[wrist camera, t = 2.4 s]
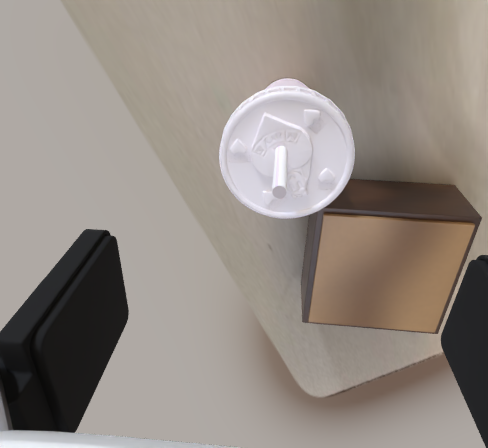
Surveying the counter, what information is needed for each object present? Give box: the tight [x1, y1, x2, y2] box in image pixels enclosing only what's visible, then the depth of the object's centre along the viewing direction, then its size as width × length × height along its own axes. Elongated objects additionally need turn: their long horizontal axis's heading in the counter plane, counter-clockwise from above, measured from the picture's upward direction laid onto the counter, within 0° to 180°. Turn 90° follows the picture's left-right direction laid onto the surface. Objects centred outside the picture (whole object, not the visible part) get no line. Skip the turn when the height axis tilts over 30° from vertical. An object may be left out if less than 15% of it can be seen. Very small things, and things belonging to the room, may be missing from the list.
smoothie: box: [219, 78, 355, 218], centre depth 21 cm, size 6×6×14 cm
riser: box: [301, 179, 482, 334], centre depth 29 cm, size 10×10×5 cm
